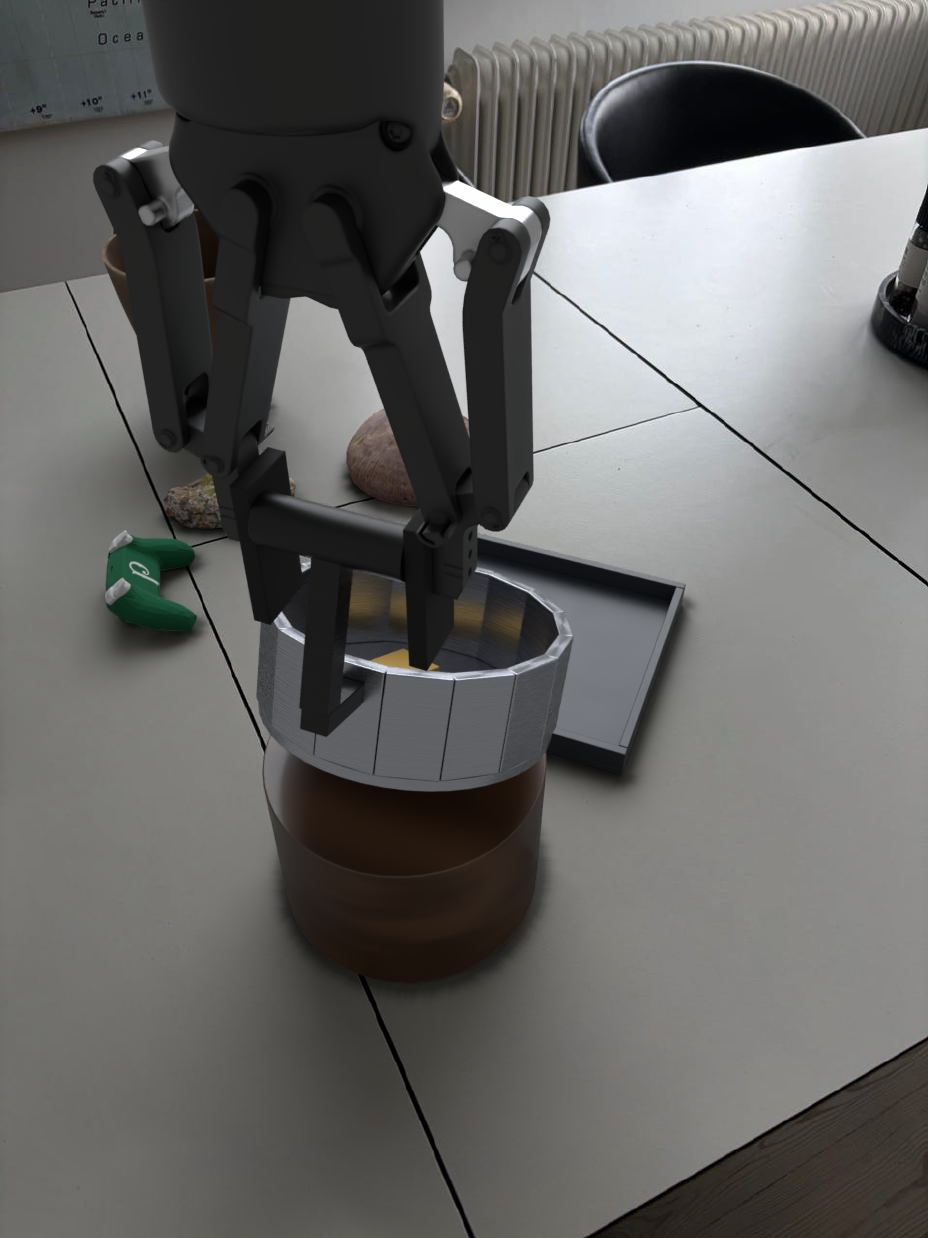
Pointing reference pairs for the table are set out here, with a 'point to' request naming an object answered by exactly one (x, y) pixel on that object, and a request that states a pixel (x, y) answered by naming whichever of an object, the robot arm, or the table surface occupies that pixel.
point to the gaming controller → (146, 581)
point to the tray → (597, 643)
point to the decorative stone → (380, 462)
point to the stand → (404, 867)
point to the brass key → (399, 660)
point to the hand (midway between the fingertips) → (353, 622)
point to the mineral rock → (198, 503)
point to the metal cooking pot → (399, 697)
